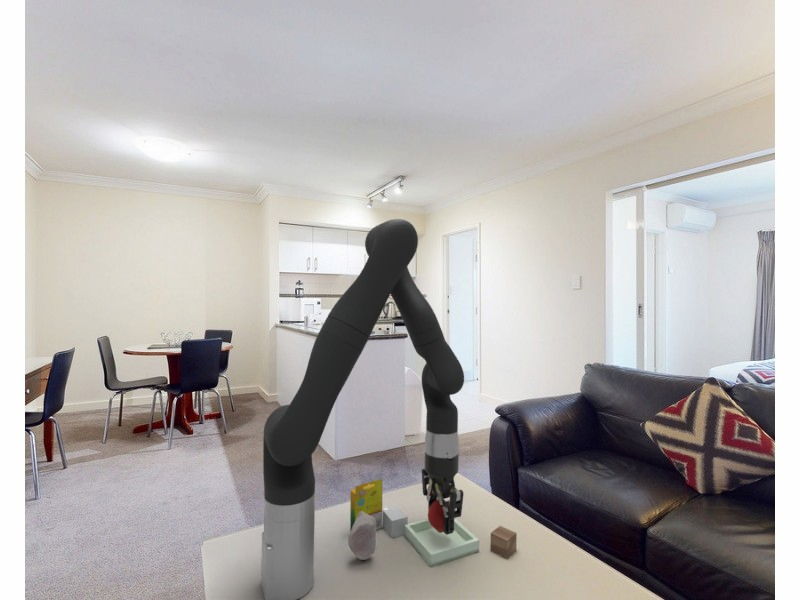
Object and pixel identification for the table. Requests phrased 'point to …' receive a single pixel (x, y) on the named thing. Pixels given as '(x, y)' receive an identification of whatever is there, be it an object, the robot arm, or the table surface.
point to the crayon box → (367, 502)
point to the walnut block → (503, 542)
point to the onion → (437, 516)
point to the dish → (440, 542)
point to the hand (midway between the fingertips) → (440, 525)
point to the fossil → (363, 536)
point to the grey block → (394, 521)
